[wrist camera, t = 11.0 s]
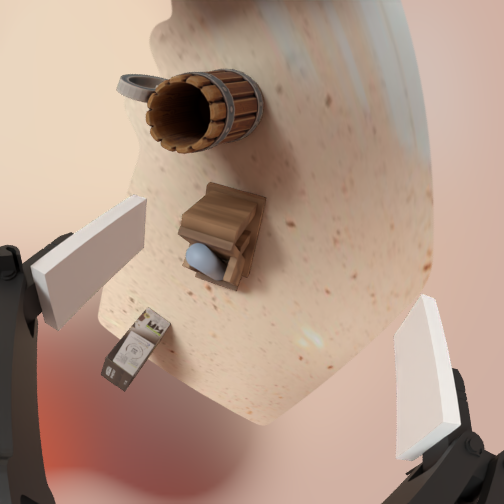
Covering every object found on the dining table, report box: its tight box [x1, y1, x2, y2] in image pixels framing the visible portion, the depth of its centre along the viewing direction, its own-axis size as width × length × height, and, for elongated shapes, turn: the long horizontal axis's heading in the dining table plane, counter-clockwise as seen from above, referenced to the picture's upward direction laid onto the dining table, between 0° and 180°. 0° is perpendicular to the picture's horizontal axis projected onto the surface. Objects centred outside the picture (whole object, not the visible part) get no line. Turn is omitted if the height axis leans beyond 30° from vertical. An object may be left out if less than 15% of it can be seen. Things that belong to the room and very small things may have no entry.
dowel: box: [186, 243, 227, 281], centre depth 47 cm, size 3×3×12 cm
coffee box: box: [101, 308, 170, 392], centre depth 62 cm, size 9×6×16 cm
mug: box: [117, 69, 264, 154], centre depth 36 cm, size 16×11×15 cm
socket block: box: [178, 182, 266, 291], centre depth 47 cm, size 16×9×12 cm, turn 169°
